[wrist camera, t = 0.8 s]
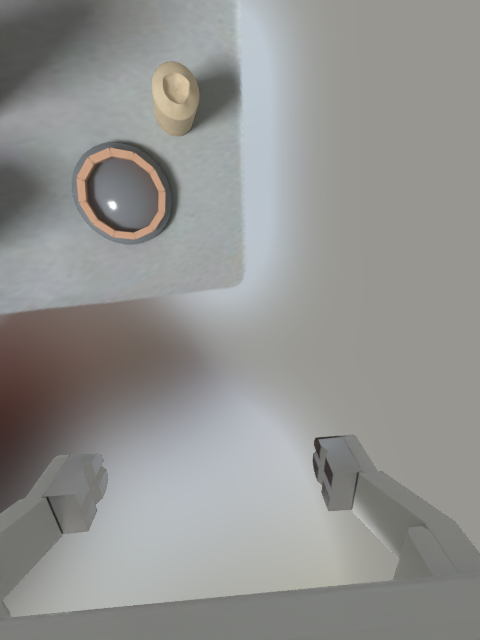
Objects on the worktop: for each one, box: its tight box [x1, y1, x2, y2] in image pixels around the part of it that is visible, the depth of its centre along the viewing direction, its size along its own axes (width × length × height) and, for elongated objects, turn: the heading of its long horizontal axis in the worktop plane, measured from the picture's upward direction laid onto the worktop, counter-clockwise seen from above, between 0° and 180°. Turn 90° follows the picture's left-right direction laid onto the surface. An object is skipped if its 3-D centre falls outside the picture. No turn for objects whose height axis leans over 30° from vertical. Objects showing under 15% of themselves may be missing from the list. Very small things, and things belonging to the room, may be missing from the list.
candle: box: [152, 62, 199, 136], centre depth 34 cm, size 6×6×10 cm
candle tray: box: [72, 142, 172, 244], centre depth 40 cm, size 14×14×2 cm
